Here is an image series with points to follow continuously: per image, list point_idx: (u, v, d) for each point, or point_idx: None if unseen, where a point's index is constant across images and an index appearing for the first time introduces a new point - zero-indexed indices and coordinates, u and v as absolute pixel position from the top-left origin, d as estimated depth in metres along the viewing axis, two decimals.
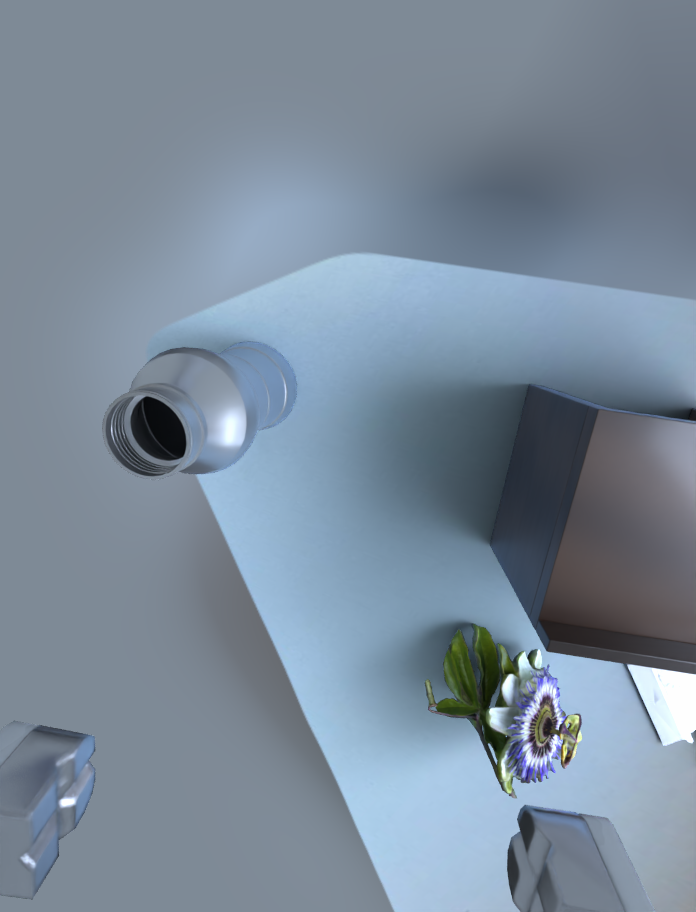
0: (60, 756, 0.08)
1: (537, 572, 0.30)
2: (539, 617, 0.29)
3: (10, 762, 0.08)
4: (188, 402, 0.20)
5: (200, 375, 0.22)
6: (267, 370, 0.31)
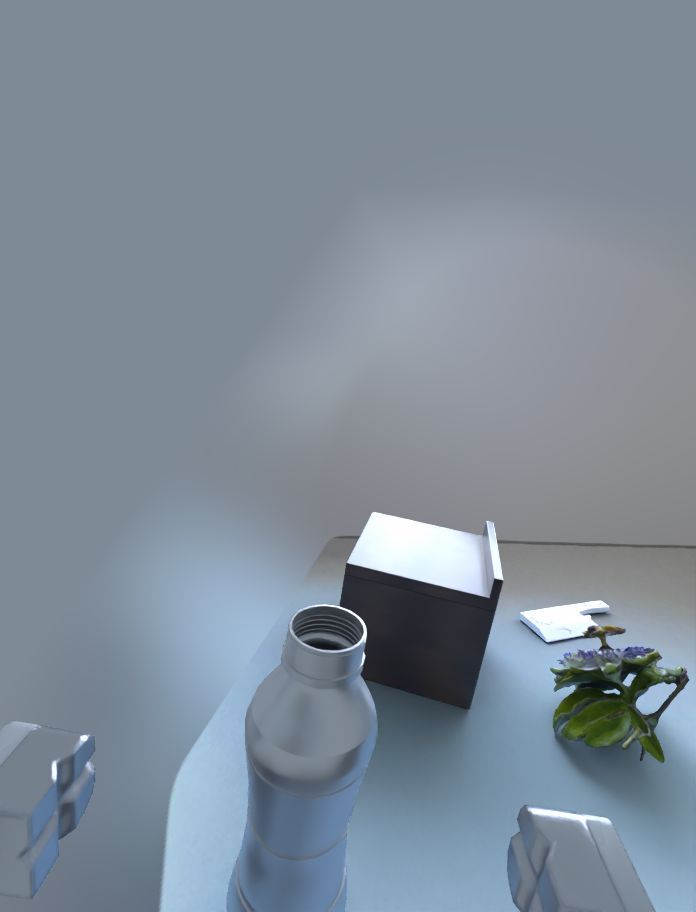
0: (60, 756, 0.08)
1: (460, 609, 0.43)
2: (487, 597, 0.42)
3: (10, 762, 0.08)
4: None
5: None
6: None
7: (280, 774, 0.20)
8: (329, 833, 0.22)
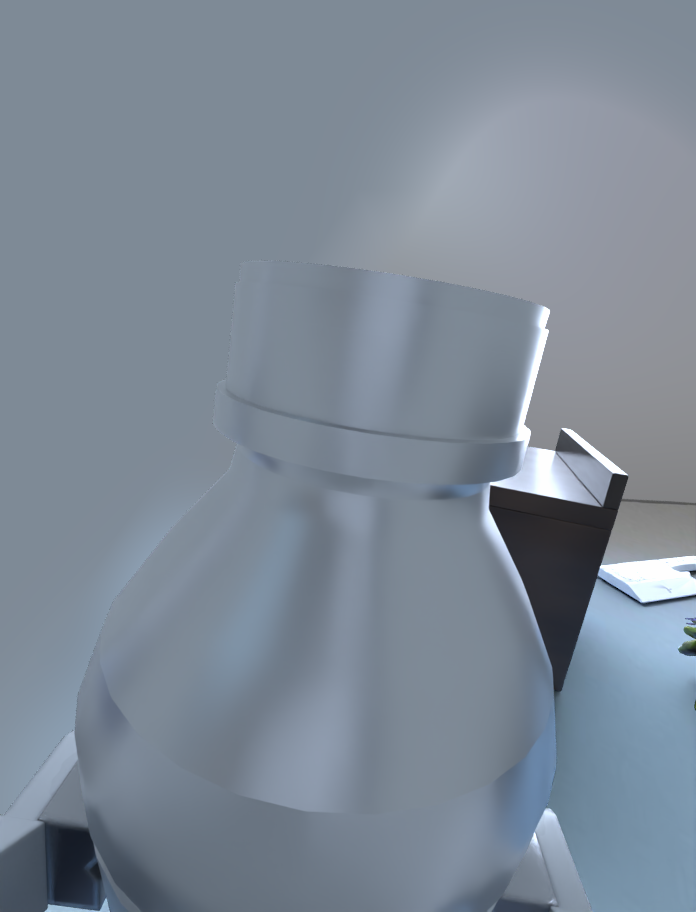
0: None
1: (552, 529, 0.27)
2: (598, 506, 0.26)
3: (75, 773, 0.08)
4: None
5: None
6: None
7: (182, 892, 0.04)
8: None
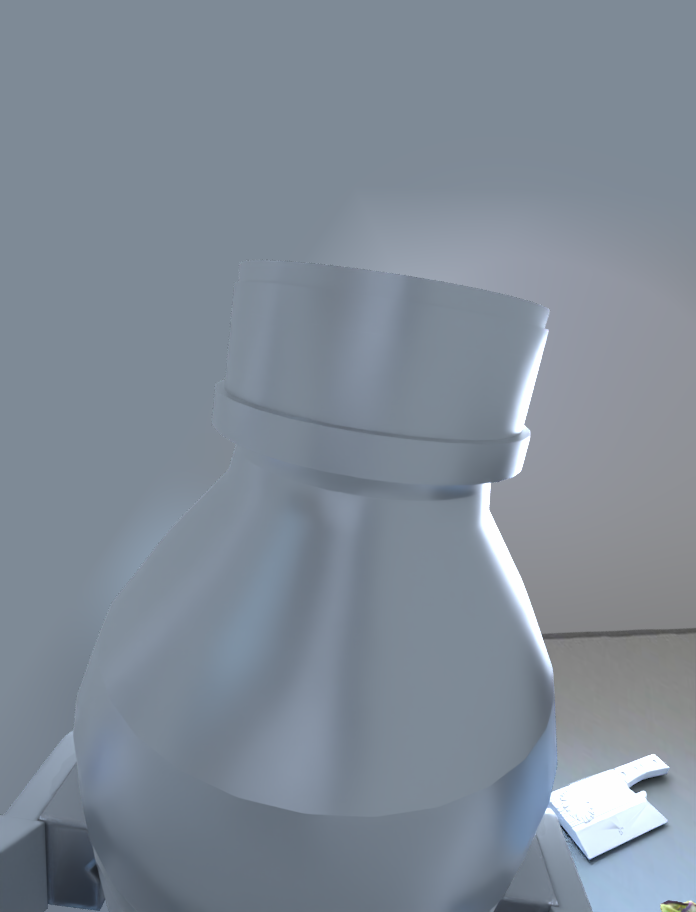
0: None
1: None
2: None
3: (75, 773, 0.08)
4: None
5: None
6: None
7: (181, 895, 0.04)
8: None
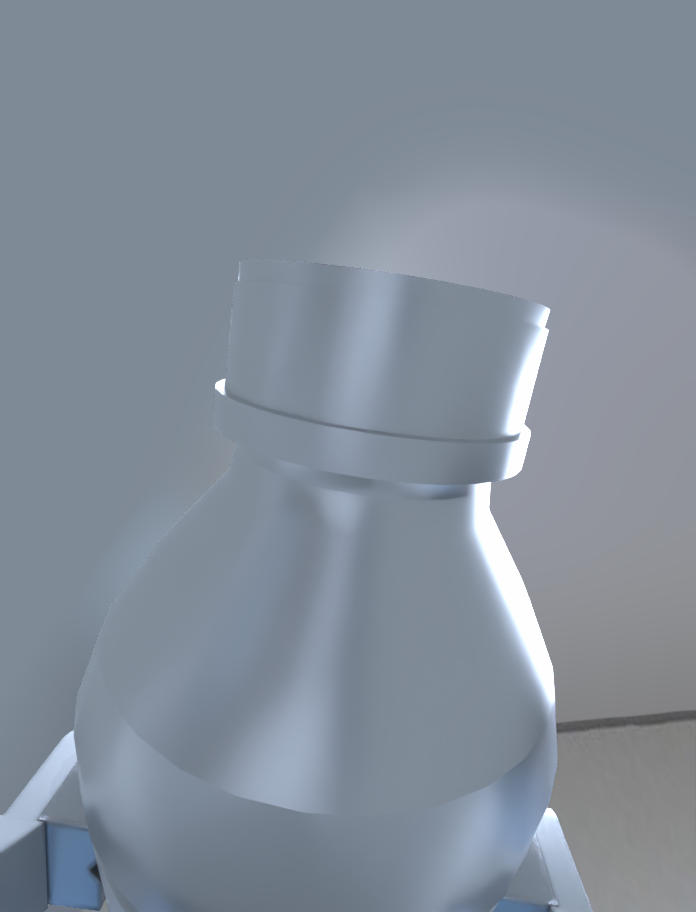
0: None
1: None
2: None
3: (75, 773, 0.08)
4: None
5: None
6: None
7: (182, 894, 0.04)
8: None
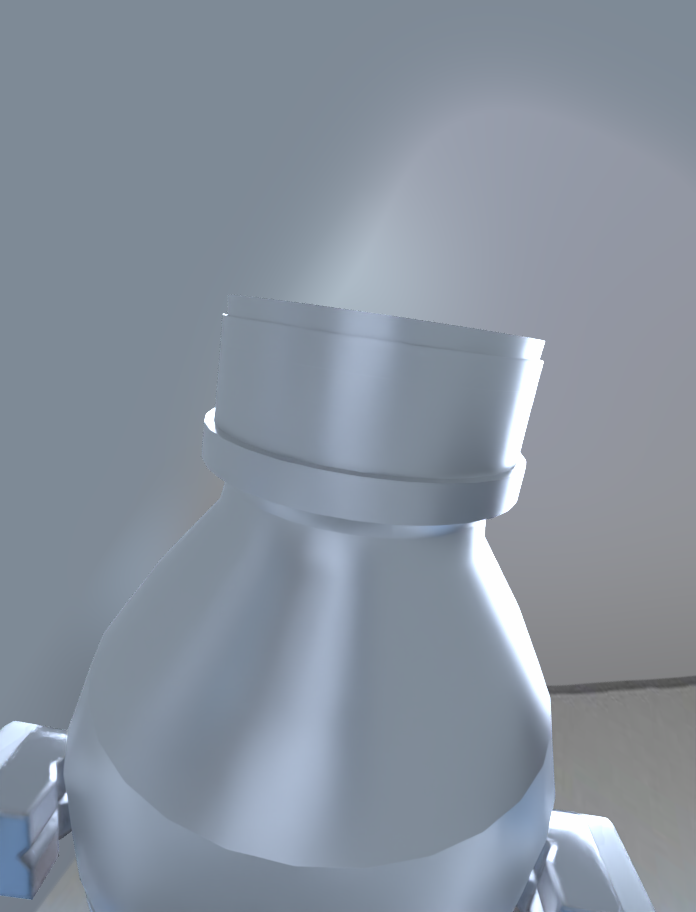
0: (60, 756, 0.08)
1: None
2: None
3: (10, 762, 0.08)
4: None
5: None
6: None
7: None
8: None
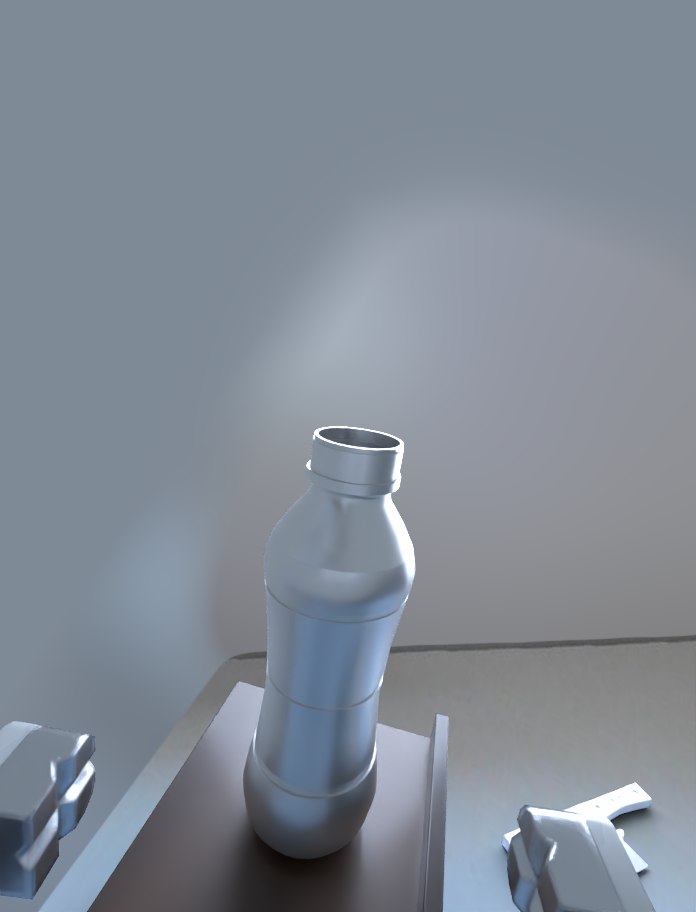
0: (60, 756, 0.08)
1: None
2: None
3: (10, 762, 0.08)
4: None
5: None
6: None
7: (307, 593, 0.18)
8: (362, 679, 0.19)
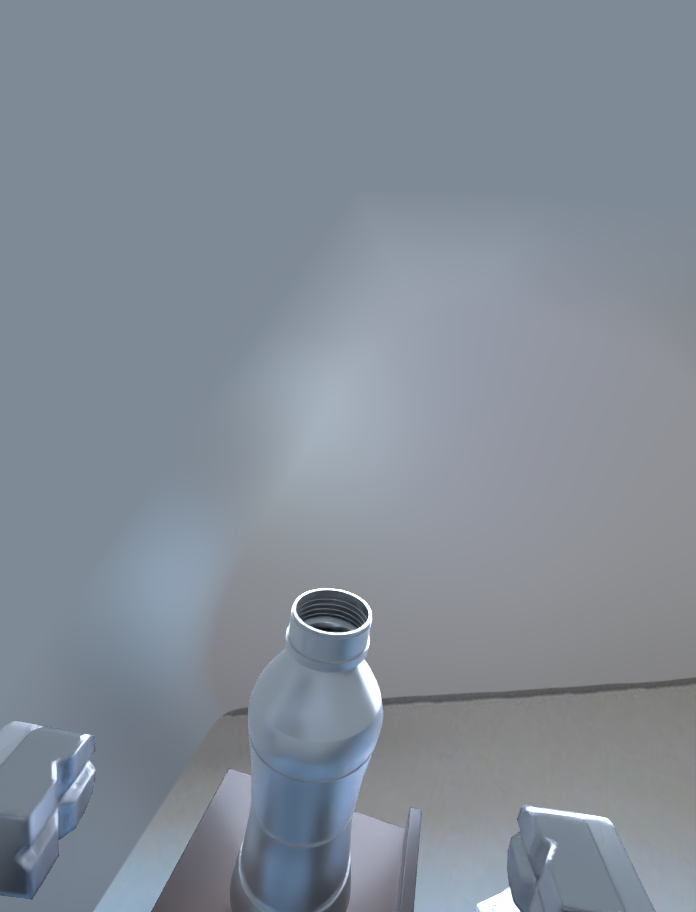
0: (60, 756, 0.08)
1: None
2: None
3: (10, 762, 0.08)
4: None
5: None
6: None
7: (284, 759, 0.20)
8: (334, 820, 0.22)
